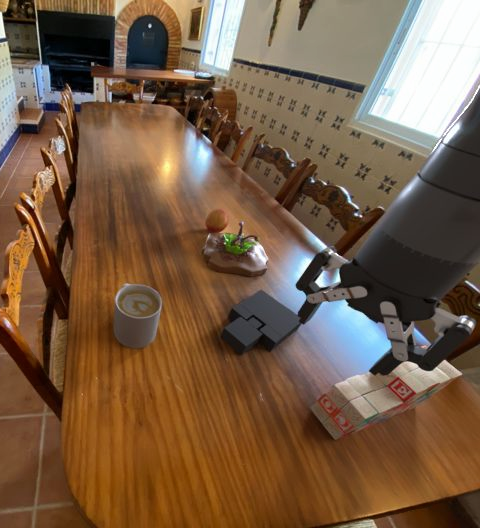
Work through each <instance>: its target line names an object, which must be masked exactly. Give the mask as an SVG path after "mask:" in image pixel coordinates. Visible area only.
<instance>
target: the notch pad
mask: <svg viewBox="0 0 480 528" xmlns="http://www.w3.org/2000/svg"><path fill="white" fill-rule="evenodd" d="M239 317H242V318H243V319H244V320H246V321H248V320H250V319H251V318H253V317H254V318H255V319H256V320H257V321H259V322H260V323H261V324H262V326H261V328H260V330H259V332H261V333H262V336H261V338H260V340H259V341H258V343H257V344H259V345H260V346H261V347H263V348H264V349H265V350H267V351H268V352H269V353H271V352H272V351H273V350H275V349H276V348H277V347H278V346H280V345H281V344H282V343H283V342H284V341H286V340H287V339H288V338H289V337H291V336H292V335H293V334H294V333H295V332H296V331H298V330H299V329H300V327H301V326H302V325H303V324H302V323H300V322H299V320H300V317H299V316H298V313H297V312H295V311H293V310H291V309H290V308H288V307H287V306H285V305H284V304H283V303H281V302H280V301H278V300H277V299H276V298H274V297H273V296H272V295H270V294H268V293H267V292H265V291H264V289H263V290H262V289H259V290H258V291H256V292H255V293H253V294H252V295H250V296H248V297H247V298H245V299H244V300H242V301H240V302H239V303H238V304H236V305H234V306H232V307H231V308H230V311H229V314H228V316H227V318H228V319H229V320H230V321H231V322H233V321H235V320H236V319H238V318H239Z"/></svg>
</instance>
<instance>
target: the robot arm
mask: <svg viewBox="0 0 480 528" xmlns="http://www.w3.org/2000/svg"><path fill="white" fill-rule="evenodd" d="M479 264H480V85H479V86H478V88H477V90H476V92H475V94H474V95H473V97H472V99H471V101H470V102H469V103H468V105H467V106H466V107H465V108H464V110H463V111H462V112H461V113H460V114H459V116H458V117H457V118H456V120H454V122H453V123H452V124H451V125H450V126H449V127H448V129H447V130H446V132H445V133H444V134H443V135H442V137H441V139H440V140H439V141H438V142H437V144H436V146H435V147H434V149H432V151H431V152H430V154H429V155H428V157H427V158H426V159H425V161H424V163H423V164H422V166H421V167H420V168H419V169H418V171H417V172H416V173H415V175H414V176H413V177H412V178H411V179H410V180H409V181H408V183H407V184H406V185H405V186H404V187H403V188H402V189H401V190H400V191H399V192H398V194H397V195H396V196H395V198H394V199H393V201H391V204H390V205H389V206H388V208H387V209H386V210H385V212H384V213H383V215H382V216H381V218H380V219H379V221H378V222H377V223H376V225H375V226H374V228H372V231H371V232H370V234H369V235H368V237H367V238H366V239H365V240H364V242H363V243H362V245H361V246H360V248H359V249H358V251H357V252H356V254H355V255H354V256H353V258H351V259H349V260H348V259H346V258H345V257H343V256H341V255H339V254H338V250H337V248H336V247H334V246H333V245H329V246H327V247H325V248H323V249H322V250H320V251H319V252H317V253H316V254H315V255H314V257H313V258H312V260H311V261H310V263H309V264H308V266H306V268H305V270H304V271H303V273H302V274H301V276H300V277H299V279H298V280H297V281H296V283H295V288H296V289H297V290H298V291H300V292H302V293H304V295H305V297H306V298H305V300H304V302H303V303H302V305H301V307H300V308H299V310H298V311H297V315H298V316H299V317H300V320H299V322H300V323H302V324H301V325H303V326H305V325H306V324H307V323H308V322H309V321H311V320H312V318H313V317H314V315H315V314H316V313H317V311H318V310H319V309H320V308H321V306H322V304H323V303H325V302H326V303H327V302H328V303H334V302H339V301H345V302H346V304H347V305H346V306H347V307H349V308H351V309H352V310H354V311H357V312H359V313H361V314H363V315H365V317H366V318H368V320H370V321H371V322H374V323H375V324H379V323H380V324H384V327H385V328H384V329H385V332H386V339H387V340H389V341H390V346H391V347H390V348H389V349H388V350H387V351H386V352H385V353H384V354H383V355H381V356H380V358H379V359H377V361H375V362H374V363H373V365H372V366H371V367H370V368H369V369H368V372H370V373H372V374H373V375H377V374H378V373H380V374H381V375H383V376H385V375H388V374H390V373H391V372H392V371H393V370H394V369H395V368H397V367H398V366H399V365H400V364H401V363H403V362H412V363H415V364H417V365H418V367H419V368H421V369H422V370H424V371H433V370H434V369H435V368H436V367H437V366H438V365H439V364H440V363H441V362H442V361H444V360H445V361H446V359H447V358H448V357H449V356H451V354H452V353H454V352H455V351H456V350H457V349H458V348H459V347H460V346H461V345H462V344H463V343H465V342H466V341H467V340H468V339H469V338H470V336H471V334H472V333H473V330H475V327H476V326H477V321H476V319H475V318H473V317H472V316H469V315H460V316H457V315H455V314H453V313H451V312H449V311H447V310H445V309H442V308H440V301H441V300H442V299H443V298H444V297H445V296H446V295H447V294H448V293H449V292H450V291H451V290H453V288H455V287H456V285H458V284H459V283H460V282H461V281H462V280H463V279H464V278H466V276H467V275H468V274H470V272H471V271H473V270H474V268H476V267H477V266H478V265H479ZM332 269H339V270H338V275H339V280H340V281H336V282H334V283H332V284H327V285H323V286H319V284H318V283H317V280H318V279H319V277H320V276H321V275H322V274H323V272H324V271H325V272H329V271H331V270H332ZM428 320H431V321H433V322H434V327H433V331H434V333H435V334H436V335H437V336H438V337H437V338H436V339H435V340H434V341H433V342H432V343H431V344H430V345H428V346H427V347H428V348H427V349H425V348H422V346H419V345H417V344H416V343H417V342H416V337H415V332H414V331H415V322H421V321H428Z"/></svg>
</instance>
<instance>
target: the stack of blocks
mask: <svg viewBox="0 0 480 528" xmlns="http://www.w3.org/2000/svg"><path fill="white" fill-rule="evenodd" d="M421 347H422V348H425V349H427V348H428V347H429V346H427V345H422V346H421ZM461 376H463V373H462V372H460V371H459V370H458V369H457V368H455V367H454V366H453V365H452V364H451V363H449V362H448V361H447V360H446V359H445V360H444V361H442V362H441V363H440V364H439V365H438V366H437V367H436V368H435V369H434V370H433V371H424V370H422V369H421V368H419V367H418V365H417V364H415V363H412V362H403V363H401V364H400V365H399V366H398V367H397V368H395V369H394V370H393V371H392V372H391V373H390V374H388V375H385V376H383V375H381V374H380V373H378V374H377V375H373V374H372V373H370V372H369V371H367V372H364V373H361V374H357V375H354V376H351V377H348V378H346V379H344V380H342V381H340V382H337V383H333V385H332V386H330V388H329V389H328V390H327V391H326V392H324V393H323V394H322V395H320V397H319V398H318V399H317V400H316V401H315V402H314V403H313V404H312V405H311V406H310V407H309V409H310V410H311V412H312V413H313V414H314V416H315V417H316V418H317V419H318V421H319V422H320V423H321V424H322V426H323V427H324V428H325V430H326V431H327V432H328V434H329V435H330V436H331V437H332V438H333V440H335V441H337V440H339V439H340V440H341V439H342V438H344V437H346V436H350V435H353V434H355V433H358V432H360V431H362V430H365V429H367V428H370V427H372V426H373V425H375V424H378V423H381V422H382V421H385V420H387V419H389V418H392V417H394V416H398V415H400V414H403V413H405V412H408V411H410V410H413V409H415V408H417V407H418V406H419V405H421V404H423V403H424V402H425V401H426V400H427V399H429V398H430V397H432V396H433V395H434V394H436V393H438V392H440V391H441V390H443V389H444V388H446V387H447V386H448V385H450V384H451V383H453V382H454V381H455V380H457V379H459V378H460V377H461Z"/></svg>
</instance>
